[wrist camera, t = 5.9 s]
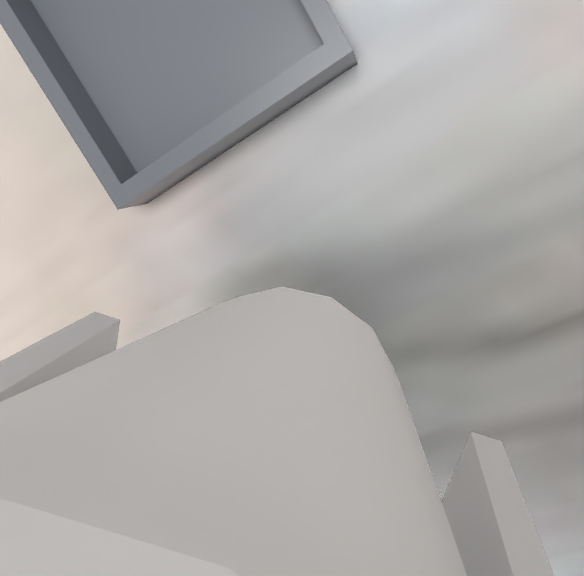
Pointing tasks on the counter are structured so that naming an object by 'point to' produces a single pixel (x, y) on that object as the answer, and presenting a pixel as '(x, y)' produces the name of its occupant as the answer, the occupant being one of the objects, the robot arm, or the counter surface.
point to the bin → (172, 77)
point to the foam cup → (224, 455)
